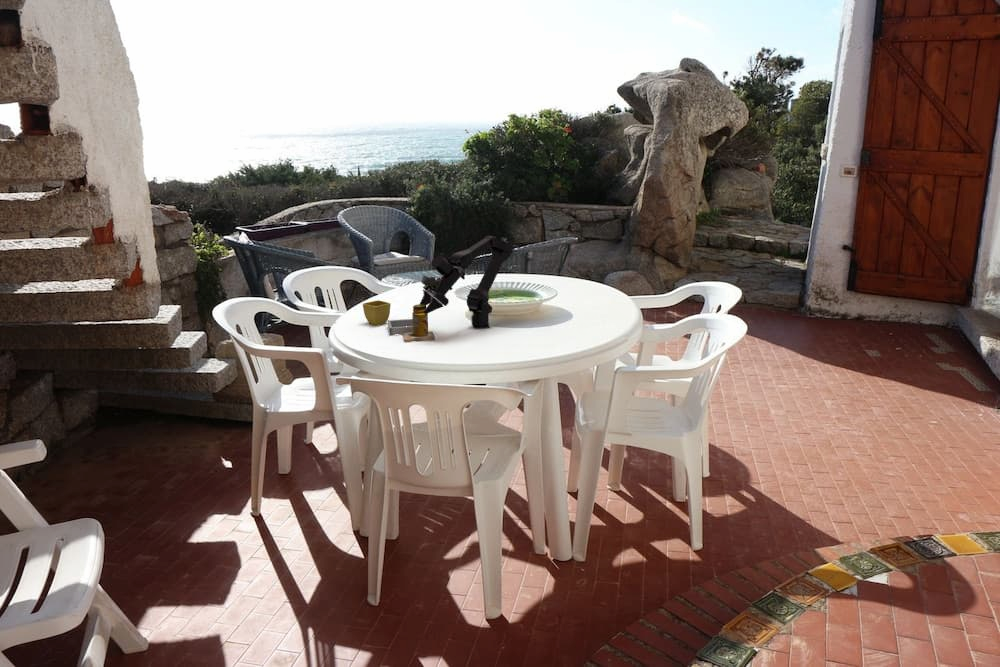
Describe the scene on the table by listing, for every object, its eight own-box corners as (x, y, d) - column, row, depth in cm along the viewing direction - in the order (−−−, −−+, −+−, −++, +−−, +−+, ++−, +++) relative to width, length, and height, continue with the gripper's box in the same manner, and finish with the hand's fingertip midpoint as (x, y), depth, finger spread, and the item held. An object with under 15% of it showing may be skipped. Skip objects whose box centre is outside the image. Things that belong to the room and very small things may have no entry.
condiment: (432, 335, 290) (431, 306, 287) (413, 339, 286) (411, 309, 283) (424, 331, 296) (422, 302, 293) (405, 335, 292) (403, 305, 289)
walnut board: (432, 333, 297) (432, 331, 297) (435, 340, 287) (435, 337, 287) (402, 335, 295) (402, 333, 294) (404, 342, 285) (404, 339, 285)
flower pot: (392, 323, 314) (391, 302, 312) (375, 327, 308) (374, 306, 305) (379, 320, 320) (378, 299, 317) (363, 324, 314) (361, 303, 311)
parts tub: (421, 325, 310) (421, 318, 309) (424, 333, 298) (424, 325, 297) (388, 327, 307) (387, 320, 307) (389, 335, 295) (389, 328, 294)
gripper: (426, 264, 295) (401, 293, 294) (439, 272, 278) (412, 303, 277) (446, 281, 299) (421, 310, 299) (459, 290, 282) (433, 321, 282)
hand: (421, 310), depth 289 cm, fingers open, 9 cm apart
